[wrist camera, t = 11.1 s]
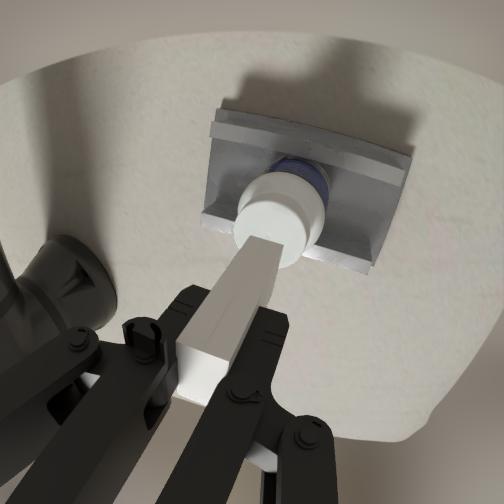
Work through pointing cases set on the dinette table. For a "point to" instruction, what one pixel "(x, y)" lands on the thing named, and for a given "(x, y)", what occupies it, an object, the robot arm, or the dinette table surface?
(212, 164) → the rail channel
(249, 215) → the pill bottle
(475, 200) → the dinette table surface
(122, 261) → the dinette table surface
